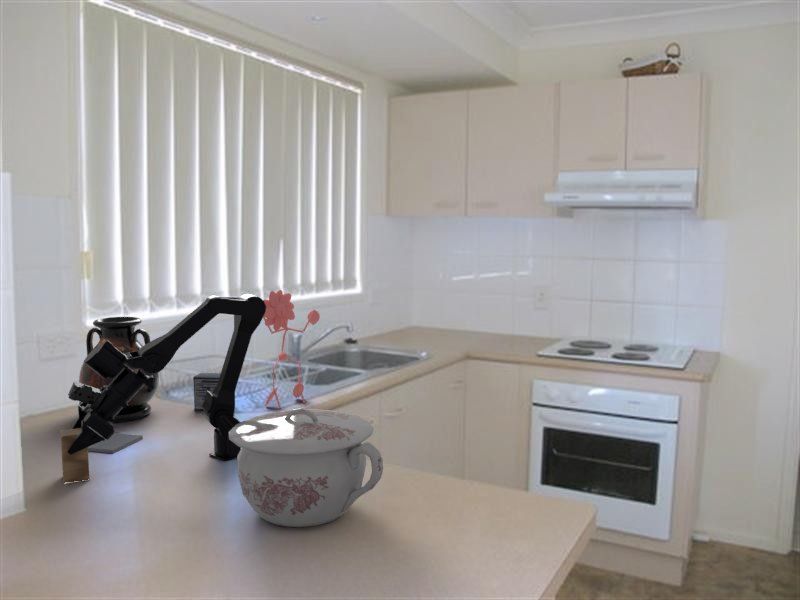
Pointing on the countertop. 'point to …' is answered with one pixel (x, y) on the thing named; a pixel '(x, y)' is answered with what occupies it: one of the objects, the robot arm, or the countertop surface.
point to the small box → (203, 387)
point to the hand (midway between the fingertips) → (67, 446)
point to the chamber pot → (304, 464)
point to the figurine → (279, 315)
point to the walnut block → (73, 458)
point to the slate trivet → (115, 443)
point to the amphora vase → (124, 341)
